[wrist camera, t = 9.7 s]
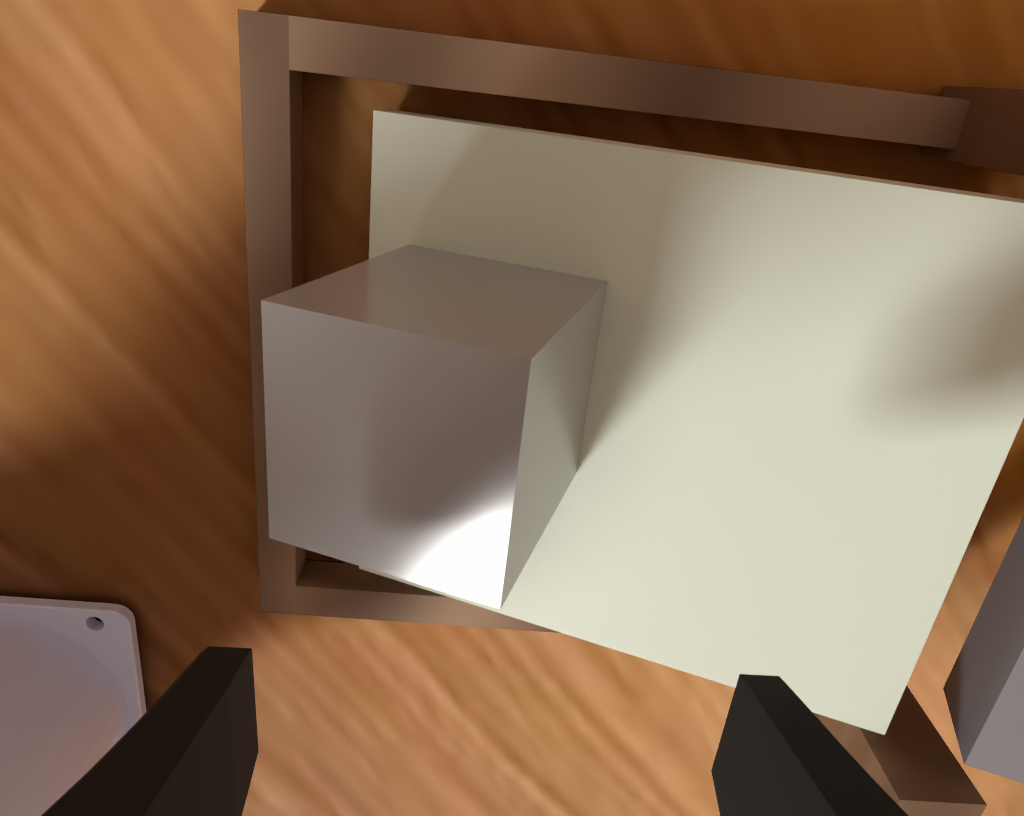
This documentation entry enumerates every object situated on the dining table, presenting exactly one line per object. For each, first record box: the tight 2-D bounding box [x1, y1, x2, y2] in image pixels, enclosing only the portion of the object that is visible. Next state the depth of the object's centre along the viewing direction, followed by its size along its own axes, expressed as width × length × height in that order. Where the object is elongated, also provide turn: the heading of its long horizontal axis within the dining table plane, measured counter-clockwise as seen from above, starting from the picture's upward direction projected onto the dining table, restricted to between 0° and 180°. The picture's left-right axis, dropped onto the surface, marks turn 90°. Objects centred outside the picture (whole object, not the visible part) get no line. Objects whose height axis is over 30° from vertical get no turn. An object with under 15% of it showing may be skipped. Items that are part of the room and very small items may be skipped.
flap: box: [359, 110, 1024, 783], centre depth 16 cm, size 20×12×2 cm, turn 85°
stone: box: [261, 245, 608, 610], centre depth 15 cm, size 5×5×5 cm
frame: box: [238, 9, 1024, 816], centre depth 17 cm, size 24×16×7 cm
